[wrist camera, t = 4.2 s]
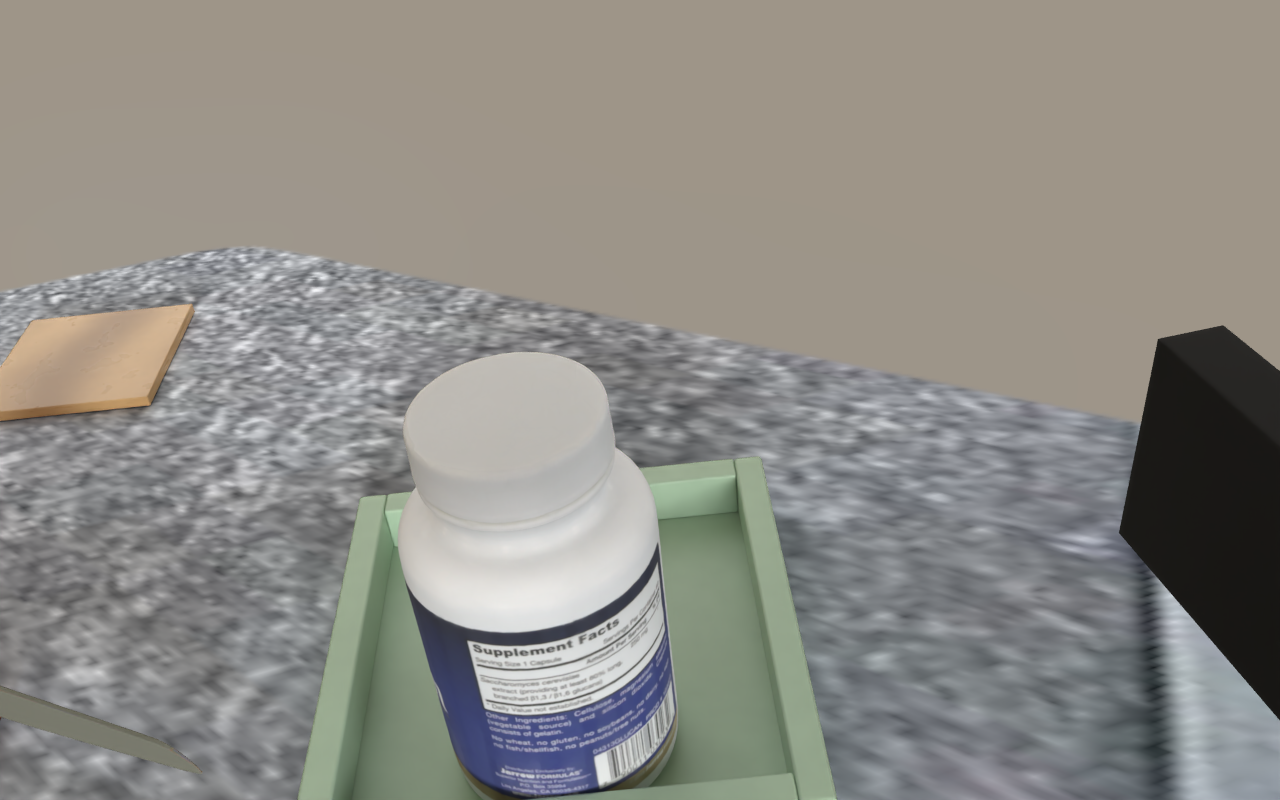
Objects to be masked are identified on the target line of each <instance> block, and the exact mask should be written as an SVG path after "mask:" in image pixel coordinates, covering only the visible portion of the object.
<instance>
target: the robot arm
mask: <svg viewBox="0 0 1280 800" xmlns="http://www.w3.org/2000/svg"><path fill="white" fill-rule="evenodd" d="M1119 533H1120V535H1121V536H1122V537H1123V538H1124V539H1125V540H1126V542H1127V543H1128V544H1129V545H1130V546H1131V547H1132V549H1133V550H1134V551H1135V552H1136V553H1137V554H1138V556H1139V557H1140V558H1141V559H1142V560H1143V561H1144V563H1145V564H1146V565H1147V566H1148V567H1149V568H1150V570H1151V571H1152V572H1153V573H1154V574H1155V575H1156V577H1157V578H1158V579H1159V580H1160V581H1161V582H1162V584H1163V585H1164V586H1165V587H1166V588H1167V589H1168V591H1169V592H1170V593H1171V594H1172V595H1173V596H1174V598H1175V599H1176V600H1177V601H1178V602H1179V603H1180V604H1181V606H1182V607H1183V608H1184V609H1185V610H1186V611H1187V613H1188V614H1189V615H1190V616H1191V617H1192V618H1193V620H1194V621H1195V622H1196V623H1197V624H1198V625H1199V627H1200V628H1201V629H1202V630H1203V631H1204V632H1205V634H1206V635H1207V636H1208V637H1209V638H1210V639H1211V641H1212V642H1213V643H1214V644H1215V645H1216V646H1217V648H1218V649H1219V650H1220V651H1221V652H1222V653H1223V655H1224V656H1225V657H1226V658H1227V659H1228V660H1229V662H1230V663H1231V664H1232V665H1233V666H1234V667H1235V669H1236V670H1237V671H1238V672H1239V673H1240V674H1241V676H1242V677H1243V678H1244V679H1245V680H1246V681H1247V683H1248V684H1249V685H1250V686H1251V687H1252V688H1253V690H1254V691H1255V692H1256V693H1257V694H1258V695H1259V697H1260V698H1261V699H1262V700H1263V701H1264V702H1265V704H1266V705H1267V706H1268V707H1269V708H1270V709H1271V711H1272V712H1273V713H1274V714H1275V715H1276V716H1277V718H1278V719H1279V720H1280V371H1279V370H1278V369H1276V368H1275V367H1274V366H1273V365H1271V364H1270V363H1269V362H1268V361H1266V360H1265V359H1264V358H1263V357H1262V356H1260V355H1259V354H1258V353H1257V352H1255V351H1254V350H1253V349H1252V348H1250V347H1249V346H1248V345H1247V344H1246V343H1244V342H1243V341H1242V340H1240V339H1239V338H1238V337H1237V336H1236V335H1234V334H1233V333H1232V332H1231V331H1229V330H1228V329H1227V328H1226V327H1224V326H1218V327H1213V328H1209V329H1204V330H1199V331H1194V332H1189V333H1184V334H1180V335H1175V336H1170V337H1165V338H1161V339H1158V342H1157V347H1156V352H1155V357H1154V362H1153V367H1152V372H1151V377H1150V382H1149V387H1148V392H1147V397H1146V402H1145V407H1144V412H1143V416H1142V421H1141V426H1140V431H1139V436H1138V441H1137V446H1136V451H1135V456H1134V461H1133V466H1132V471H1131V476H1130V481H1129V486H1128V491H1127V496H1126V501H1125V506H1124V511H1123V516H1122V521H1121V526H1120V531H1119Z"/></svg>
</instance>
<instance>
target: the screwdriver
mask: <svg viewBox="0 0 1280 800" xmlns="http://www.w3.org/2000/svg"><path fill="white" fill-rule="evenodd" d="M1 717H2V718H6V719H9V720H12V721H15V722H19V723H22V724H25V725H28V726H32V727H35V728H38V729H41V730H45V731H48V732H52V733H55V734H58V735H62V736H65V737H68V738H72V739H75V740H79V741H82V742H85V743H89V744H92V745H96V746H100V747H103V748H107V749H110V750H114V751H117V752H121V753H124V754H128V755H131V756H135V757H138V758H142V759H146V760H149V761H153V762H156V763H160V764H163V765H167V766H170V767H174V768H177V769H181V770H185V771H189V772H193V773H198V774H202V771H201V770H200V769H199V768H198V767H197V766H196V765H195V764H194V763H193V762H192V761H190V760H189V759H188V758H187V757H186V756H184V755H183V754H182V753H180V752H179V751H177V750H176V749H174V748H173V747H171V746H169V745H168V744H166V743H164V742H162V741H160V740H158V739H155V738H153V737H150V736H147V735H144V734H141V733H138V732H135V731H132V730H129V729H126V728H123V727H120V726H117V725H115V724H112V723H109V722H106V721H103V720H100V719H97V718H94V717H91V716H88V715H85V714H82V713H79V712H76V711H73V710H70V709H67V708H64V707H61V706H59V705H56V704H53V703H50V702H47V701H44V700H41V699H38V698H35V697H32V696H29V695H26V694H23V693H20V692H17V691H14V690H11V689H8V688H5V687H2V686H0V719H1Z"/></svg>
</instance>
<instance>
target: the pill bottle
mask: <svg viewBox="0 0 1280 800" xmlns="http://www.w3.org/2000/svg"><path fill="white" fill-rule="evenodd" d="M403 437H404V442H405V446H406V450H407V454H408V459H409V463H410V468H411V473H412V477H413V480H414V483H415V485H416V487H415V489H414V490H413V492H412V493H411V495H410V497H409V499H408V500H407V502H406V505H405V507H404V509H403V512H402V514H401V518H400V522H399V528H398V551H399V557H400V561H401V566H402V570H403V574H404V578H405V583H406V587H407V590H408V594H409V597H410V601H411V604H412V607H413V611H414V615H415V618H416V622H417V625H418V629H419V632H420V635H421V639H422V642H423V646H424V649H425V653H426V657H427V660H428V664H429V668H430V671H431V675H432V678H433V681H434V684H435V688H436V691H437V695H438V698H439V701H440V705H441V708H442V712H443V715H444V719H445V722H446V725H447V729H448V733H449V736H450V740H451V743H452V746H453V749H454V752H455V755H456V758H457V760H458V763H459V766H460V768H461V770H462V772H463V775H464V777H465V779H466V780H467V781H468V783H469V784H470V786H471V787H472V789H473V790H474V791H475V792H476V793H477V794H478V795H479V796H480V797H481V798H482V799H483V800H526V799H536V798H546V797H556V796H566V795H575V794H585V793H595V792H605V791H615V790H625V789H635V788H644V787H649V786H650V785H651V784H652V783H653V781H654V780H655V779H656V778H657V777H658V775H659V774H660V773H661V771H662V770H663V768H664V767H665V765H666V764H667V762H668V760H669V758H670V755H671V753H672V750H673V748H674V744H675V741H676V736H677V731H678V703H677V693H676V684H675V675H674V668H673V659H672V650H671V641H670V632H669V623H668V614H667V604H666V595H665V587H664V577H663V567H662V557H661V546H660V536H659V526H658V518H657V511H656V505H655V501H654V496H653V494H652V491H651V489H650V486H649V484H648V482H647V481H646V479H645V477H644V475H643V474H642V472H641V471H640V469H639V468H638V467H637V466H636V464H635V463H634V462H633V461H632V460H631V459H630V458H629V457H628V456H626V455H625V454H624V453H623V452H621V451H620V450H619V449H618V448H616V447H615V434H614V430H613V426H612V420H611V414H610V408H609V402H608V397H607V393H606V391H605V388H604V386H603V384H602V383H601V381H600V380H599V378H598V377H597V376H596V375H595V374H594V373H593V372H592V371H590V370H589V369H588V368H587V367H585V366H584V365H582V364H580V363H578V362H576V361H573V360H571V359H568V358H565V357H562V356H558V355H553V354H547V353H540V352H513V353H505V354H498V355H494V356H489V357H484V358H480V359H477V360H474V361H470V362H467V363H465V364H462V365H460V366H457V367H455V368H453V369H451V370H449V371H447V372H445V373H444V374H442V375H440V376H439V377H437V378H436V379H435V380H433V381H432V382H431V383H429V384H428V385H427V386H426V387H425V388H423V389H422V390H421V391H420V392H419V393H418V394H417V396H416V397H415V398H414V400H413V401H412V403H411V404H410V406H409V407H408V410H407V412H406V415H405V419H404V425H403Z"/></svg>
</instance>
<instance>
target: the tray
mask: <svg viewBox="0 0 1280 800" xmlns="http://www.w3.org/2000/svg"><path fill="white" fill-rule="evenodd" d="M639 469H640V471H641V472H642V474H643V475H644V477H645V479H646V481H647V482H648V484H649V486H650V489H651V491H652V494H653V496H654V501H655V505H656V511H657V518H658V526H659V536H660V546H661V557H662V567H663V577H664V587H665V595H666V604H667V614H668V623H669V632H670V641H671V650H672V659H673V668H674V675H675V684H676V693H677V703H678V731H677V736H676V741H675V744H674V748H673V750H672V753H671V755H670V758H669V760H668V762H667V764H666V765H665V767H664V768H663V770H662V771H661V773H660V774H659V775H658V777H657V778H656V779H655V780H654V781H653V783H652V784H651V785H650V786H649V787H644V788H635V789H625V790H615V791H605V792H595V793H585V794H575V795H566V796H556V797H546V798H536V799H526V800H837V796H836V792H835V787H834V783H833V778H832V774H831V769H830V765H829V760H828V756H827V751H826V747H825V742H824V738H823V733H822V729H821V724H820V720H819V715H818V711H817V706H816V702H815V697H814V693H813V688H812V684H811V679H810V675H809V671H808V666H807V662H806V657H805V653H804V648H803V644H802V639H801V635H800V630H799V626H798V621H797V617H796V612H795V608H794V603H793V599H792V594H791V590H790V585H789V581H788V576H787V572H786V567H785V563H784V558H783V554H782V549H781V545H780V540H779V536H778V531H777V527H776V522H775V518H774V513H773V509H772V504H771V500H770V495H769V491H768V486H767V482H766V477H765V473H764V468H763V464H762V459H761V458H760V457H748V458H738V459H735V460H734V461H733V459H725V460H716V461H706V462H696V463H686V464H677V465H667V466H657V467H648V468H639ZM411 493H412V492H404V493H395V494H388V496H386V495H377V496H367V497H361V498H360V501H359V506H358V510H357V515H356V520H355V525H354V530H353V534H352V539H351V544H350V549H349V554H348V558H347V563H346V568H345V573H344V578H343V583H342V587H341V592H340V597H339V602H338V607H337V611H336V616H335V621H334V626H333V631H332V635H331V640H330V645H329V650H328V655H327V659H326V664H325V669H324V674H323V679H322V684H321V688H320V693H319V698H318V703H317V708H316V712H315V717H314V722H313V727H312V732H311V736H310V741H309V746H308V751H307V756H306V760H305V765H304V770H303V775H302V780H301V785H300V789H299V794H298V799H297V800H483V799H482V798H481V797H480V796H479V795H478V794H477V793H476V792H475V791H474V790H473V789H472V787H471V786H470V784H469V783H468V781H467V780H466V779H465V777H464V775H463V772H462V770H461V768H460V766H459V763H458V760H457V758H456V755H455V752H454V749H453V746H452V743H451V740H450V736H449V733H448V729H447V725H446V722H445V719H444V715H443V712H442V708H441V705H440V701H439V698H438V695H437V691H436V688H435V684H434V681H433V678H432V675H431V671H430V668H429V664H428V660H427V657H426V653H425V649H424V646H423V642H422V639H421V635H420V632H419V629H418V625H417V622H416V618H415V615H414V611H413V607H412V604H411V601H410V597H409V594H408V590H407V587H406V583H405V578H404V574H403V570H402V566H401V561H400V557H399V551H398V528H399V522H400V518H401V514H402V512H403V509H404V507H405V505H406V502H407V500H408V499H409V497H410V495H411Z"/></svg>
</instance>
